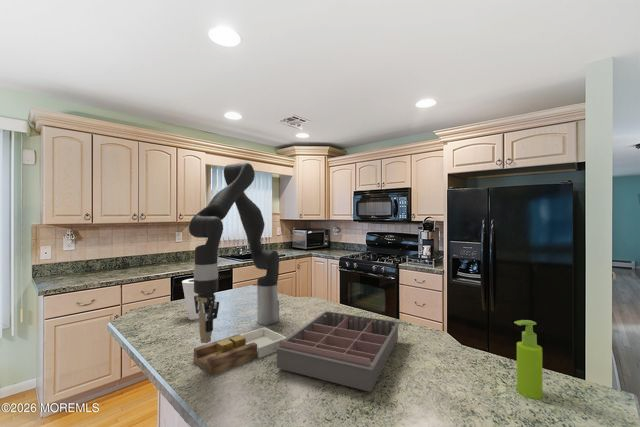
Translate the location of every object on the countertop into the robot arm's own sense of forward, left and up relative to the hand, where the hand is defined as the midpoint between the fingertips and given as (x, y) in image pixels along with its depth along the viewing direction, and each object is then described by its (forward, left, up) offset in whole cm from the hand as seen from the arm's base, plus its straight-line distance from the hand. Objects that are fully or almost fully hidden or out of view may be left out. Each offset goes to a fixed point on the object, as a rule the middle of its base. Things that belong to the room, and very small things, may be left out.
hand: (206, 329), depth 99 cm
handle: (0, 0, -4) cm, 4 cm away
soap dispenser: (-57, +78, -12) cm, 97 cm away
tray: (-21, 0, -12) cm, 25 cm away
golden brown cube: (-12, 0, -10) cm, 15 cm away
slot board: (-7, 0, -12) cm, 14 cm away
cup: (-17, -49, -12) cm, 53 cm away
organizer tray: (-38, +27, -13) cm, 48 cm away
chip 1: (-7, 0, -10) cm, 12 cm away
